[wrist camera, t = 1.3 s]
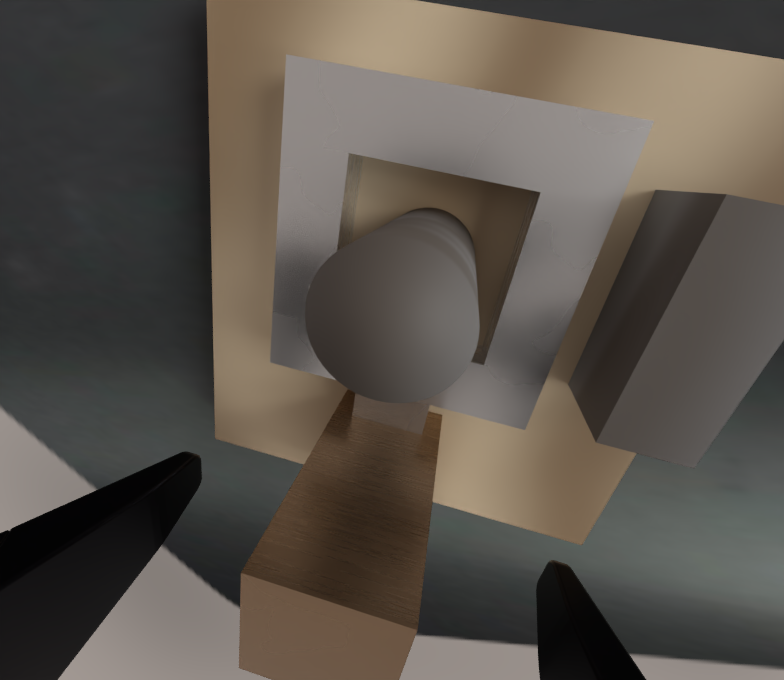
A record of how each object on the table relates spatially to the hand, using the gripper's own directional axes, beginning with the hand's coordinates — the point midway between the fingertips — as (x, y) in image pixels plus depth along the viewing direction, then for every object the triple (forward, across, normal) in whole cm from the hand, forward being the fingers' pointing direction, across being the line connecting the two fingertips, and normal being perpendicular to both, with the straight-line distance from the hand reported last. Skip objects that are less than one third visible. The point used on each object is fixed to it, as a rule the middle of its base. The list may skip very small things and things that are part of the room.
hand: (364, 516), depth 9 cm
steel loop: (+3, 0, -4) cm, 5 cm away
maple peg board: (+4, 0, -4) cm, 6 cm away
